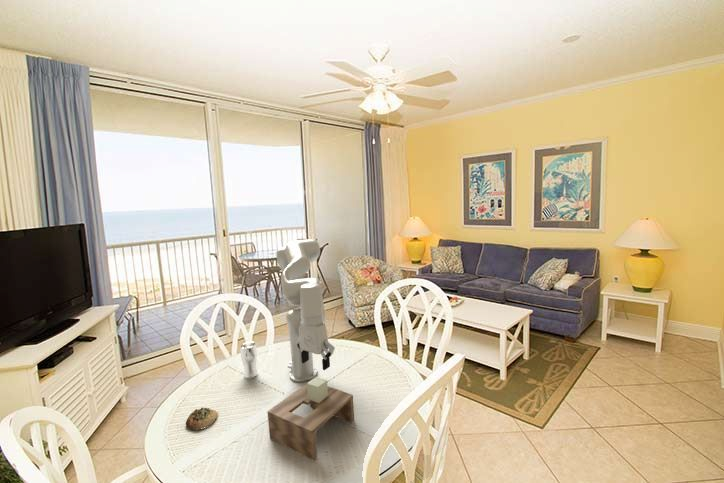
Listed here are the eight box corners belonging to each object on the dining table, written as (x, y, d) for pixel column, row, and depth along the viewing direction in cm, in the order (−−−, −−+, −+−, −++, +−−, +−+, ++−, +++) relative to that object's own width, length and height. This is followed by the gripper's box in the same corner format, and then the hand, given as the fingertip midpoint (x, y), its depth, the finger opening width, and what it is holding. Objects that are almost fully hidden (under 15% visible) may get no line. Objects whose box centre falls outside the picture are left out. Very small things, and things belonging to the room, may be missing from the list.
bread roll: (183, 419, 130) (183, 407, 129) (214, 411, 136) (214, 399, 136) (188, 436, 121) (189, 423, 120) (221, 427, 127) (222, 414, 127)
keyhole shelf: (269, 438, 117) (267, 411, 116) (312, 404, 135) (311, 380, 134) (314, 460, 106) (311, 431, 105) (354, 420, 124) (352, 394, 123)
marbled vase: (245, 372, 164) (242, 342, 162) (260, 370, 164) (257, 341, 162) (241, 379, 157) (238, 348, 155) (257, 378, 157) (253, 347, 155)
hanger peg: (309, 417, 123) (306, 383, 121) (318, 409, 127) (316, 376, 125) (320, 421, 120) (317, 387, 118) (329, 413, 124) (326, 380, 122)
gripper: (286, 318, 120) (290, 363, 123) (325, 327, 111) (328, 376, 113) (301, 311, 126) (304, 354, 129) (339, 319, 117) (341, 366, 120)
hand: (315, 364), depth 121 cm, fingers open, 9 cm apart
